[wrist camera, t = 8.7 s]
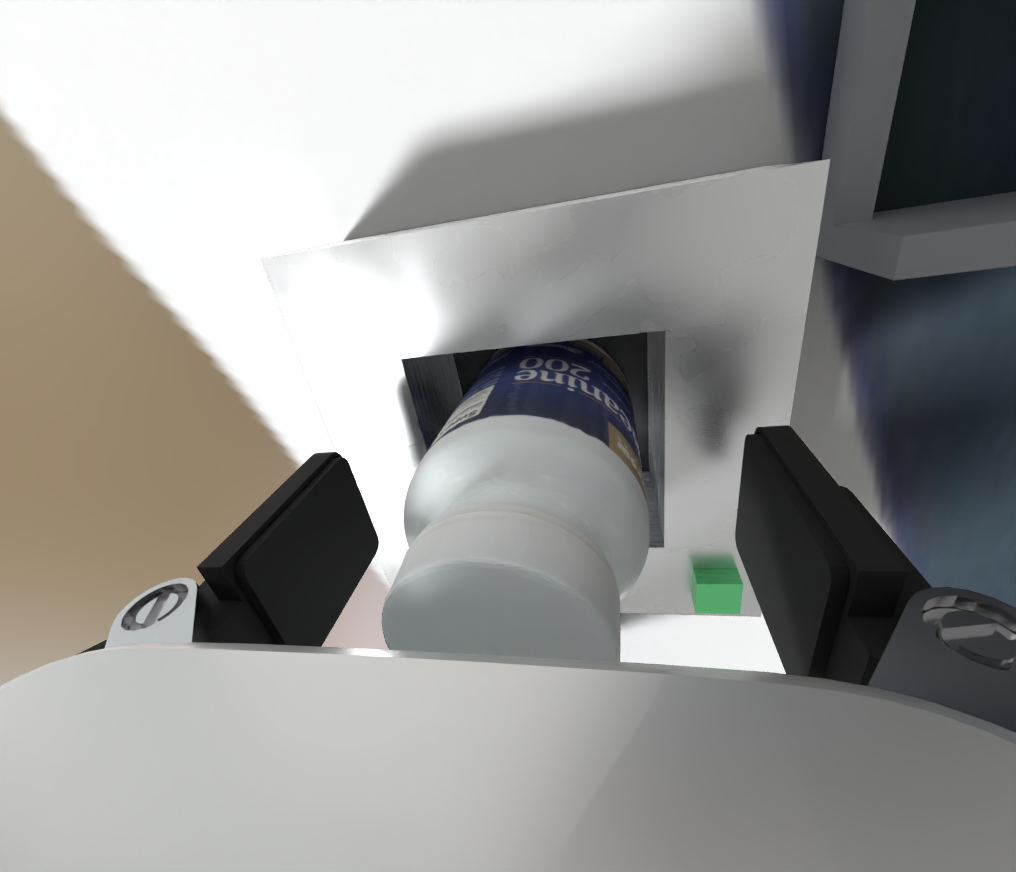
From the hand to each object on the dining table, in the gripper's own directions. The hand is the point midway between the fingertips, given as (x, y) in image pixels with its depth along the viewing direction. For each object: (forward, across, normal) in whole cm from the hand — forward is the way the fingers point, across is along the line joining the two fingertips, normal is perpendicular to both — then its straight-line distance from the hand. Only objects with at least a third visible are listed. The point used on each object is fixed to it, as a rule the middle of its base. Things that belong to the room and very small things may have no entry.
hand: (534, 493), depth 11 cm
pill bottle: (+6, 0, 0) cm, 6 cm away
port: (+6, 0, 0) cm, 6 cm away
